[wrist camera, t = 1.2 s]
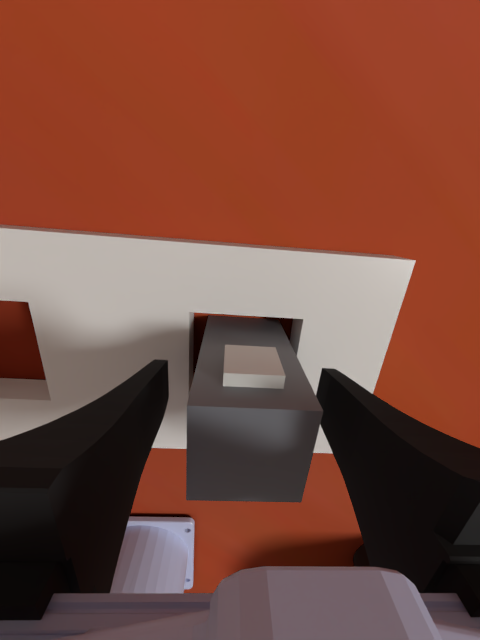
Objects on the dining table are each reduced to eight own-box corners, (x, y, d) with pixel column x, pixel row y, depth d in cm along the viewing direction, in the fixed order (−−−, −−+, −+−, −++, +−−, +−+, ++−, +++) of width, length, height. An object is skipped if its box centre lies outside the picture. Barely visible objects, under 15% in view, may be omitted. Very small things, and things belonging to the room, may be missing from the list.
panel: (341, 431, 18) (355, 458, 16) (-91, 416, 16) (-136, 443, 14) (392, 255, 13) (420, 261, 11) (-193, 209, 12) (-278, 206, 10)
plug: (270, 379, 16) (301, 502, 9) (206, 375, 16) (186, 500, 9) (280, 311, 14) (326, 397, 7) (208, 306, 14) (186, 390, 7)
